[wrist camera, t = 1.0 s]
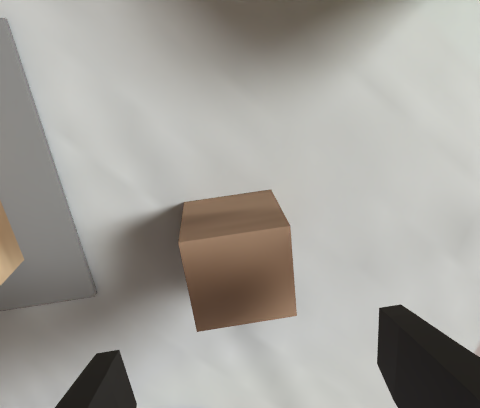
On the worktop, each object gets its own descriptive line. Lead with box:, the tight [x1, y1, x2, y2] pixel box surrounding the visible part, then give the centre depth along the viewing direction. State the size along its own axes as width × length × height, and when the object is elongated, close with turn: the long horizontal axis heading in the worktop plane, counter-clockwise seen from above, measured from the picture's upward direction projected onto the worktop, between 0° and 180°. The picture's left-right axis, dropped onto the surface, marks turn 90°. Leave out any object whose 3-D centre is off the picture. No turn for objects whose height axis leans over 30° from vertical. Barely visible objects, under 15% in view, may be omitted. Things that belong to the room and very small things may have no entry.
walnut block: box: [178, 190, 297, 332], centre depth 15 cm, size 4×4×4 cm
